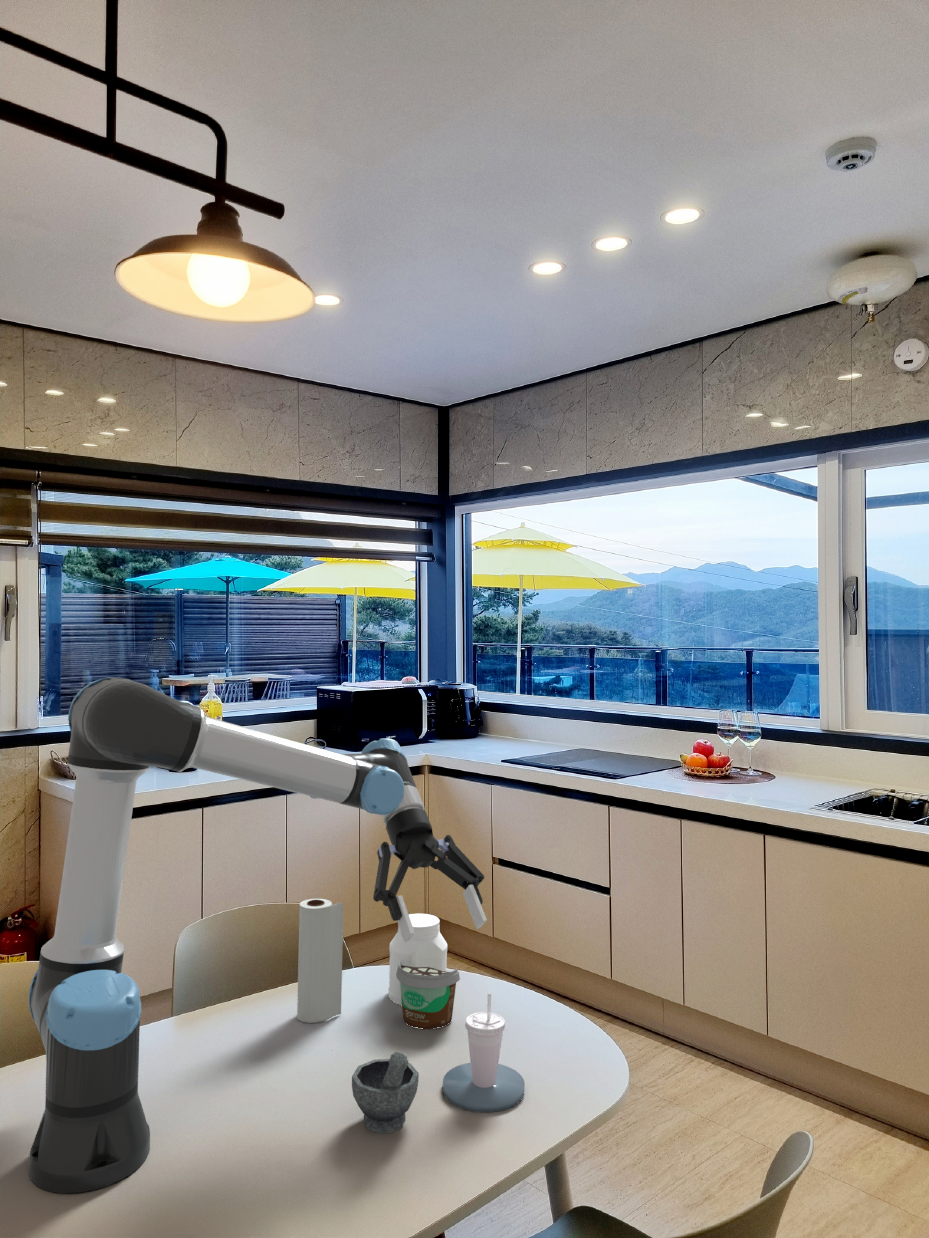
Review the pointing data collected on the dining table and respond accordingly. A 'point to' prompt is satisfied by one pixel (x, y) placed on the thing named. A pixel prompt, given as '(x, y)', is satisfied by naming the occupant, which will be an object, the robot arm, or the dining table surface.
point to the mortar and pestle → (385, 1092)
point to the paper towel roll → (319, 960)
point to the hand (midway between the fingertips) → (446, 931)
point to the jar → (417, 950)
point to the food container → (427, 995)
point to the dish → (483, 1089)
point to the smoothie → (484, 1045)
